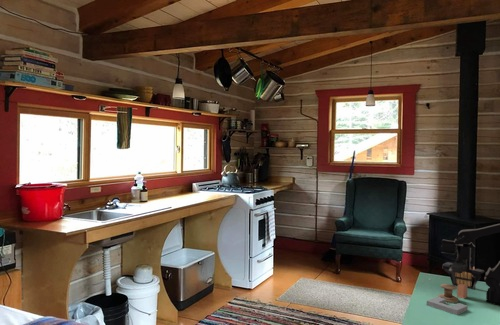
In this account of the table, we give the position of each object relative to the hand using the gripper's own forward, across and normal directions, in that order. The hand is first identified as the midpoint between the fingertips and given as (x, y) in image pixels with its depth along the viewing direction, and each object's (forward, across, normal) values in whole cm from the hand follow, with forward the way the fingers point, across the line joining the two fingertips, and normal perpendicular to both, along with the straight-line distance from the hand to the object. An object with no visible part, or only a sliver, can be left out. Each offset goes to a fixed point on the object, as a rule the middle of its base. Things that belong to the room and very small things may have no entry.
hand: (462, 286), depth 204 cm
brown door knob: (+5, -2, -10) cm, 11 cm away
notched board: (+5, +3, -21) cm, 22 cm away
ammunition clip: (+5, -7, +17) cm, 19 cm away
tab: (+5, 0, 0) cm, 5 cm away
